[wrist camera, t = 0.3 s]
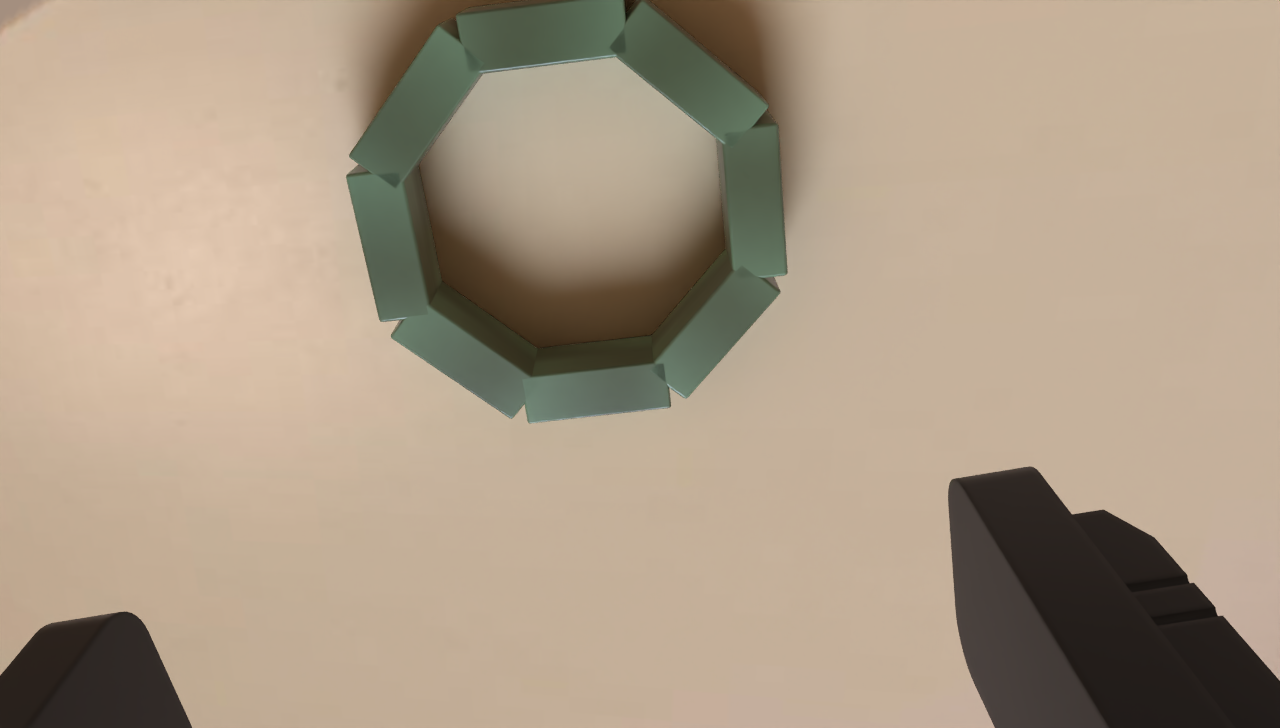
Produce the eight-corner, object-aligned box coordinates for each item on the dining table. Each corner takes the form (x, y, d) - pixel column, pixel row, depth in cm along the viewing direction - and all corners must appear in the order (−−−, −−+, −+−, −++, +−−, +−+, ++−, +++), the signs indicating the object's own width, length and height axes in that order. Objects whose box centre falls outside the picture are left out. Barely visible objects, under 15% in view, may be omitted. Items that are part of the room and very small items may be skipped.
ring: (299, 239, 27) (276, 261, 26) (531, -100, 24) (523, -102, 22) (610, 453, 30) (609, 486, 28) (855, 173, 27) (871, 191, 25)
